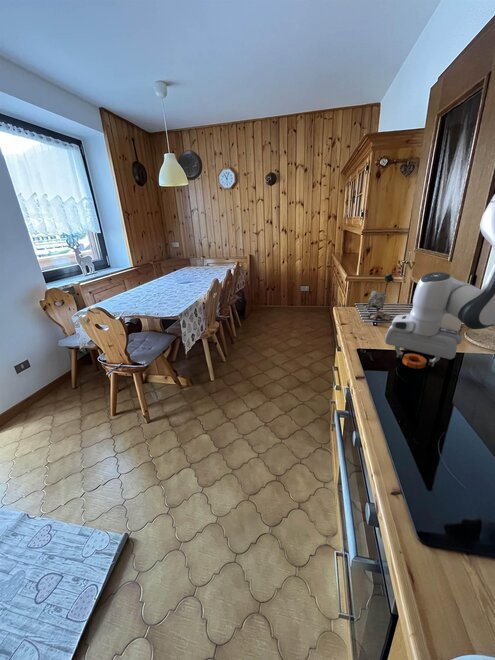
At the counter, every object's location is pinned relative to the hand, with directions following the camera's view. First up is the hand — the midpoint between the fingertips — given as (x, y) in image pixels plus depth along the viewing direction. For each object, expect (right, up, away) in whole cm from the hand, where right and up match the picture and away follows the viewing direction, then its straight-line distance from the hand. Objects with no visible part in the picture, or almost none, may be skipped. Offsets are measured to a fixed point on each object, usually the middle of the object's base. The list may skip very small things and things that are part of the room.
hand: (414, 361), depth 95 cm
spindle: (+7, +4, +9) cm, 12 cm away
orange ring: (0, -1, 0) cm, 1 cm away
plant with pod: (+3, +16, +33) cm, 37 cm away
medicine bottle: (+27, +12, +21) cm, 37 cm away
